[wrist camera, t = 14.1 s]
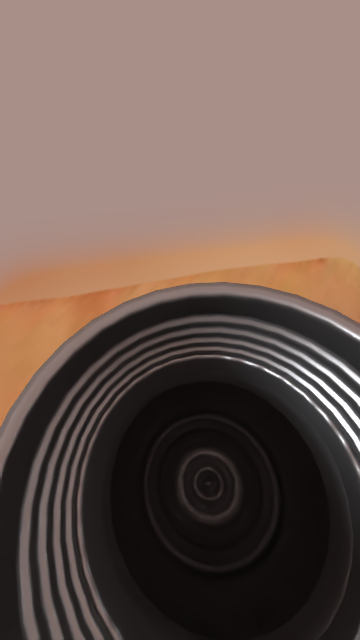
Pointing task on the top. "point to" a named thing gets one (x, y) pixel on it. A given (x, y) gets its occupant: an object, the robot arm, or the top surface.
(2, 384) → the top surface
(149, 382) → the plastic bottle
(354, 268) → the top surface
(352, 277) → the top surface
